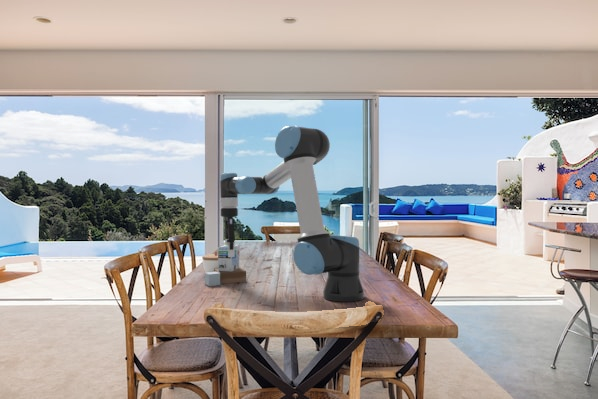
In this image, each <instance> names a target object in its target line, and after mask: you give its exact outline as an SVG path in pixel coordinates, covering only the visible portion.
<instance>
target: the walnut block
mask: <svg viewBox="0 0 598 399" xmlns="http://www.w3.org/2000/svg"><path fill="white" fill-rule="evenodd" d="M214 272H218V273H220V284H229V283H230V284H231V283H232V284H233V283H241V282H242V283H243V282H244V283H246V282H247V270H245V269H244V268H242V267H241V266H239V268H238V269H236V270H234V271H232V272H228V271H218V268H214Z"/></svg>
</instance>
